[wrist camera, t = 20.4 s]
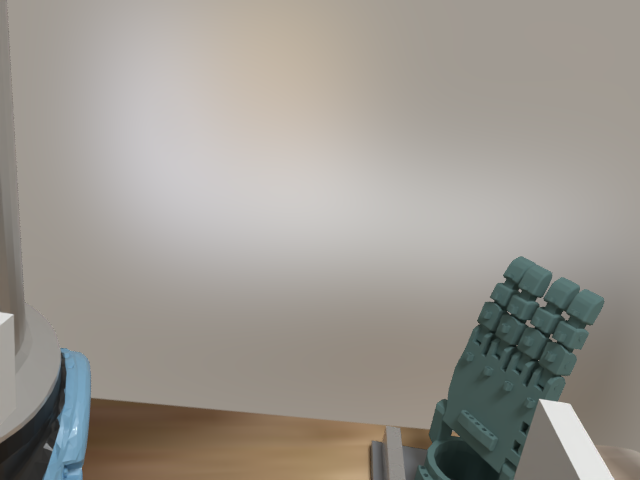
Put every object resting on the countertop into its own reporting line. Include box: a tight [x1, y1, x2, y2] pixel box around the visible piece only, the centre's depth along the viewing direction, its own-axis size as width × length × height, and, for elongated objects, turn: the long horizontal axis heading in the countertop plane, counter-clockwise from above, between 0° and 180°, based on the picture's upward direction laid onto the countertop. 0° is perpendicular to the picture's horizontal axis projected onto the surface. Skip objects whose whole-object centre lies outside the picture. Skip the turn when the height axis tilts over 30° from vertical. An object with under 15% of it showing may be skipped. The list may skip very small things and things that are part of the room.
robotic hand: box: [415, 257, 604, 480], centre depth 52 cm, size 14×10×25 cm
